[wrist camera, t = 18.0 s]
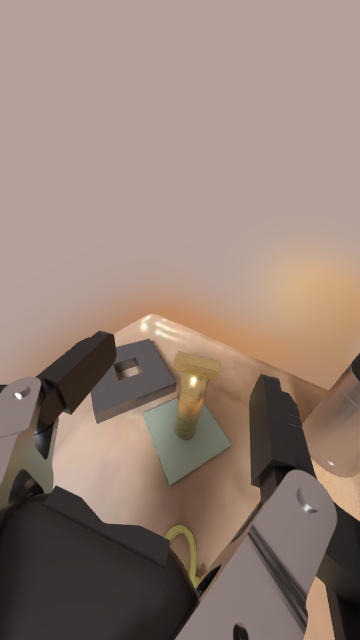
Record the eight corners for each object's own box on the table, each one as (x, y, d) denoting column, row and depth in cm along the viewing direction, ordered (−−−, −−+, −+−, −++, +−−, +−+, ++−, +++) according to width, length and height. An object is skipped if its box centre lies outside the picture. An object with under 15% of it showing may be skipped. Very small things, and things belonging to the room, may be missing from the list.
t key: (203, 423, 35) (221, 356, 26) (199, 445, 31) (218, 378, 22) (173, 413, 36) (180, 346, 27) (166, 433, 33) (171, 365, 24)
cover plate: (149, 347, 52) (149, 338, 51) (174, 391, 41) (175, 382, 39) (87, 364, 45) (84, 355, 44) (97, 423, 34) (94, 414, 32)
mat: (194, 392, 41) (195, 390, 41) (231, 445, 32) (232, 444, 32) (142, 414, 36) (142, 413, 36) (169, 486, 27) (169, 484, 27)
